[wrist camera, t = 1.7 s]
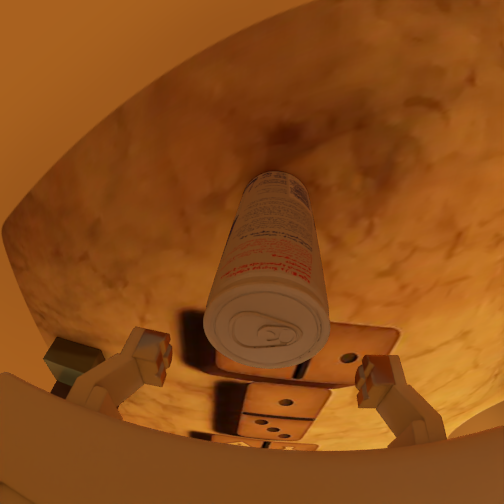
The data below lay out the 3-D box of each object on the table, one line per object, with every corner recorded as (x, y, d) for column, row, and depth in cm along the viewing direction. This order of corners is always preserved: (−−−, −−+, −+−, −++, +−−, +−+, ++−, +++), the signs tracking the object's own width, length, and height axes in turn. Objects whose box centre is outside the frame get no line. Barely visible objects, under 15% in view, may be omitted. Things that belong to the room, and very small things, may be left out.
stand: (56, 336, 40) (25, 386, 31) (100, 349, 40) (71, 407, 30) (83, 384, 48) (61, 429, 38) (122, 397, 47) (103, 446, 38)
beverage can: (230, 190, 25) (174, 313, 13) (288, 157, 23) (293, 260, 11) (264, 240, 27) (246, 382, 15) (320, 213, 26) (349, 350, 13)
